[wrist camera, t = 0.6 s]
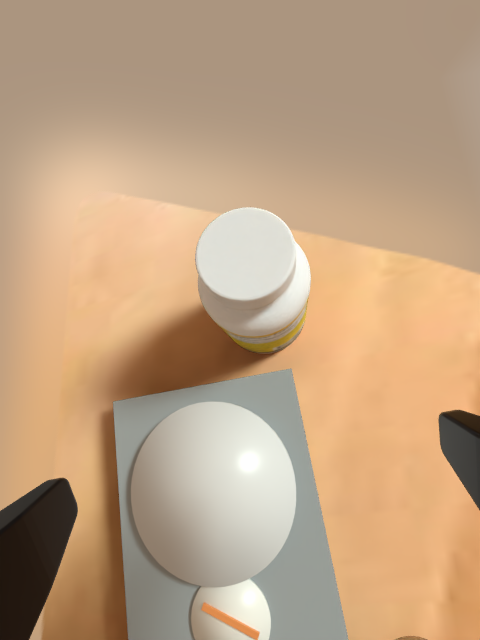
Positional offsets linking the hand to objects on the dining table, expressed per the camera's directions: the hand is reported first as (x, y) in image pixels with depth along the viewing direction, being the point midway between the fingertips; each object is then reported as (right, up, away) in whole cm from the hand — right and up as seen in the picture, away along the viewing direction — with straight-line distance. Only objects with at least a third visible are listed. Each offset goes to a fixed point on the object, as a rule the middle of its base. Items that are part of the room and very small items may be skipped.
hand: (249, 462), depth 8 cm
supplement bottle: (+1, +4, +14) cm, 15 cm away
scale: (-1, -8, +12) cm, 14 cm away
